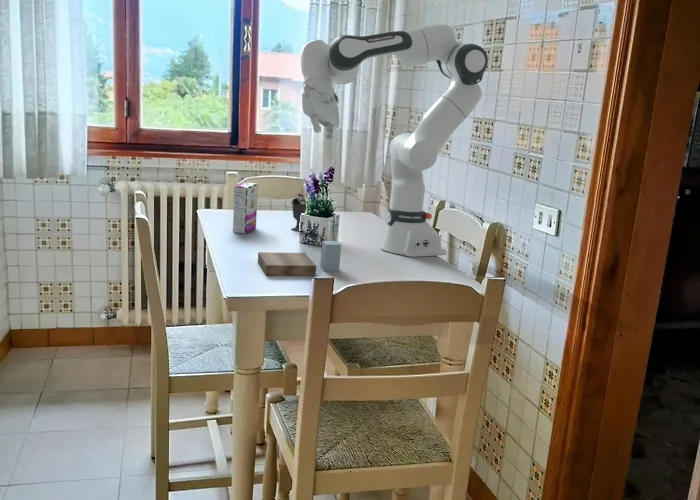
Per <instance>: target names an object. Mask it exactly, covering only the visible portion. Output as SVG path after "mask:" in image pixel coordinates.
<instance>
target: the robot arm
mask: <svg viewBox="0 0 700 500" xmlns="http://www.w3.org/2000/svg"><path fill="white" fill-rule="evenodd" d="M387 55H393V56H395V58H396V59H397V61H398V62H399V63H400V64H402V65H403V66H406V67H407V66H408V67H410V66H411V67H412V66H419V65H422V64H423V65H424V64H427V63H430V62H434V61H435V62H436V64H437V66H438V68H439V70H440V73H442V75H443V76H444V77H446V78H448V79H451V81H450V84H449V85H448V88H447V90H445V91H444V92H443V93H442V94H441V95H440V96H439V97H438V99H437V100H436V101H435V102H434V103H433V104H432V105H431V106H430V107H429V108H428V110H426V111H425V113H424V114H423V116H422V117H423V118H422V119H421V121H420V122H419V125H417V127H416V129H415V130H414V131H413V132H412V133H411V132H404V133H401V134H398V135H397V136H395V137H394V138H393V139H392V140H391V141H390V144H389V153H390V170H391V171H390V172H391V174H390V175H391V190H390V191H391V192H390V201H389V207H388V209H387V214H386V229H385V233H384V238H383V241H382V242H381V246H380V249H381V250H383V251H385V252H388V253H391V254H396V255H403V256H406V257H413V258H414V257H416V258H417V257H433V256H434V257H435V256H438V257H439V256H447V250H446V248H444V247H442V239H441V236H440V234H439V233H438V232H437V231H436V230H435V229H434V228H433V227H432V226H431V225H430V224H429V223H428V222H427V220H432V218H433V214H432V213H429V212H426V211H424V210H423V209H424V201H425V200H424V199H425V192H426V191H425V190H426V188H425V187H426V186H425V183H424V182H425V181H424V178H423V177H424V176H423V175H424V174H423V171H425V170H428V169H430V168H432V167H433V166H434V165H435V163H436V161H437V159H438V154H439V153H440V151H441V150H442V148H443V147H444V145H445V144H446V142H447V140H448V139H449V138H450V136H451V135H452V134H453V133H455V131H456V130H457V129H458V128H459V127H460V125H461V124H462V123H463V122H464V121H465V120H466V119H467V118H468V117H469V116H470V114H471V113H472V112H473V110H474V109H475V108H476V106H477V105H478V103H479V102H480V100H481V98H482V94H483V93H482V88H481V86H480V84H479V83H480V82H481V81H482V80H483V77H484V73H485V72H486V70H487V67H488V63H489V57H488V56H489V55H488V54H487V52H486V50H485V49H484V48H483V47H482V46H480V45H478V44H474V43H459V42H458V41H457V40H456V35H455V32H454V30H453V29H452V28H451V27H450V26H449V25H447V24H431V25H423V26H420V27H415V28H412V29H408V30H396V31H388V32H382V33H376V34H371V35H364V36H360V35H351V34H350V35H349V34H345V35H344V34H343V35H341V36H338V37H336V38H335V39H333V41H332V42H331V43H330V44H327V43H326V42H325V41H324V40H321V39H314V40H311V41H308V42H306V43H305V44H304V45H303V46H302V48H301V51H300V68H301V73H302V76H303V83H302V84H303V91H302V93H301V103H302V105H301V106H302V111H303V114H304V115H305V116H306V117H308V118H309V120H310V123H311V125H312V127H313V132H314V133H321V132H322V128H321V127H324V128H325V129H326V133H325V137H326V140H328V141H333V140H334V132H335V130H336V129H338V128H339V127H340V112H339V106H338V104H339V97H338V96H337V94H336V92H335V90H334V87H333V84H337V85H346V84H350V83H352V82H354V80H356V78H357V76H358V73H359V70H360V66H361V64H362V63H363V62H364V61H365V60H367V59H369V58H376V57H377V58H378V57H382V56H387Z"/></svg>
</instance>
